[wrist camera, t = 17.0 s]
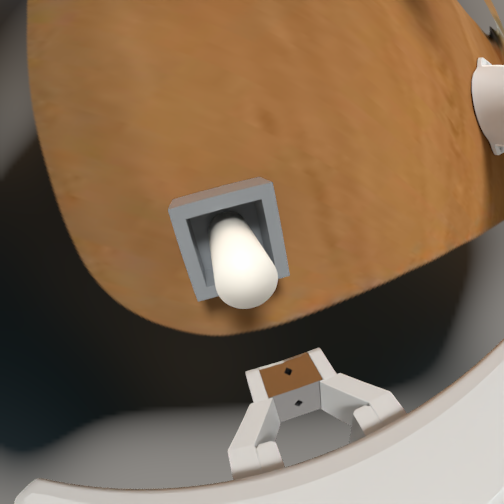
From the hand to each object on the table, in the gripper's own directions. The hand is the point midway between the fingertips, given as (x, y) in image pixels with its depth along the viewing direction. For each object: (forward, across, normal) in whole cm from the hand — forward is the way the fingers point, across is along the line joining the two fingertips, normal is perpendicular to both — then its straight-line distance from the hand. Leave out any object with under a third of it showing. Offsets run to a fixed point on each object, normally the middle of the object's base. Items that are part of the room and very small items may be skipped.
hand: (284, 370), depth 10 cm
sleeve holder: (+20, 0, 0) cm, 20 cm away
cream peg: (+19, 0, 0) cm, 19 cm away
